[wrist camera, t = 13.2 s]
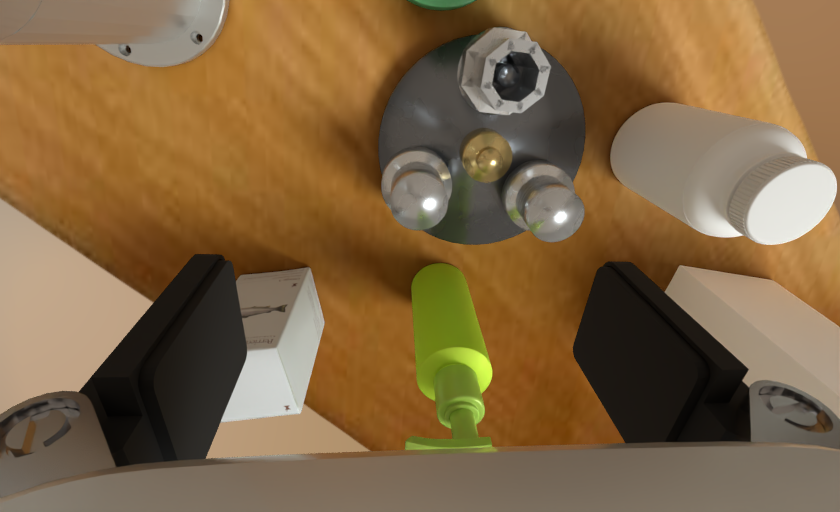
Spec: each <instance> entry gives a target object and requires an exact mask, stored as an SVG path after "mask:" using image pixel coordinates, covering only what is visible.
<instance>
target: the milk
mask: <svg viewBox="0 0 840 512" xmlns="http://www.w3.org/2000/svg"><path fill="white" fill-rule="evenodd" d="M665 293H666V294H667V295H668V296H669V297H670V298H671V299H672V300H673V301H675V302H676V303H677V304H678V305H679V306H680V307H681V308H682V309H683V310H684V311H686V312H687V313H688V314H689V315H690V316H691V317H692V318H693V319H694V320H695V321H697V322H698V323H699V324H700V325H701V326H702V327H703V328H704V329H705V330H706V331H707V332H709V333H710V334H711V335H712V336H713V337H714V338H715V339H716V340H717V341H718V342H720V343H721V344H722V345H723V346H724V347H725V348H726V349H727V350H728V351H729V352H731V353H732V354H733V355H734V356H735V357H736V358H737V359H738V360H739V361H740V362H742V363H743V364H744V365H745V366H746V367H747V368H748V369H749V370H748V372H747V374H746V375H745V377H744V379H743V380H742V381H743V382H744V383H745V384H746V385H747V386H748V387H750V385H751V384H752V383H754V382H756V381H760V380H770V381H777V382H780V383H784V384H787V385H790V386H793V387H795V388H797V389H799V390H801V391H804V392H806V393H807V394H809V395H811V396H812V397H814V398H816V399H818V400H819V401H820V402H822V403H823V404H824V405H825V406H827V407H828V408H829V409H831V411H832V412H833V413H834V414H835V415H836V416H837V417H838V418H839V419H840V327H839V326H837V325H836V324H834V323H833V322H832V321H830V320H829V319H827V318H826V317H824V316H823V315H822V314H820V313H819V312H817V311H816V310H815V309H813V308H812V307H810V306H809V305H807V304H806V303H805V302H803V301H802V300H800V299H799V298H797V297H796V296H795V295H793V294H792V293H790V292H789V291H787V290H786V289H785V288H783V287H782V286H780V285H779V284H778V283H776V282H775V281H773V280H769V279H762V278H756V277H750V276H744V275H738V274H732V273H726V272H719V271H713V270H707V269H701V268H695V267H689V266H682V265H679V267H678V269H677V271H676V273H675V274H674V276H673V278H672V280H671V282H670V283H669V285H668V287H667V289H666V291H665Z"/></svg>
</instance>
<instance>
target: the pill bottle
mask: <svg viewBox="0 0 840 512" xmlns="http://www.w3.org/2000/svg"><path fill="white" fill-rule="evenodd" d="M610 161H611V167H612V170H613V172H614V174H615V176H616V178H617V179H618V180H619V181H620V182H621V183H622V184H623V185H624V186H626V187H627V188H629V189H630V190H632V191H634V192H635V193H637V194H638V195H640V196H642V197H643V198H645V199H647V200H648V201H650V202H651V203H653V204H655V205H656V206H658V207H660V208H661V209H663V210H664V211H666V212H668V213H669V214H671V215H672V216H674V217H676V218H677V219H679V220H681V221H682V222H684V223H685V224H687V225H689V226H690V227H692V228H694V229H695V230H697V231H699V232H701V233H703V234H706V235H710V236H716V237H737V236H742V235H744V236H746V237H747V238H749V239H751V240H753V241H755V242H757V243H760V244H765V245H767V244H768V245H774V244H781V243H786V242H789V241H792V240H794V239H796V238H798V237H800V236H802V235H804V234H805V233H807V232H808V231H810V230H811V229H812V228H813V227H815V226H816V225H817V224H818V223H819V222H820V221H821V220H822V219H823V218H824V216H825V215H826V214H827V212H828V211H829V209H830V208H831V206H832V204H833V202H834V199H835V196H836V191H837V182H836V178H835V176H834V174H833V172H832V171H831V169H829V167H827V166H826V165H824V164H822V163H820V162H817V161H813V160H810V159H807V155H806V152H805V149H804V147H803V145H802V143H801V142H800V140H799V139H798V138H797V137H796V136H795V135H794V134H792V133H791V132H790V131H788V130H787V129H785V128H783V127H781V126H778V125H775V124H771V123H767V122H762V121H758V120H753V119H748V118H744V117H739V116H734V115H730V114H725V113H720V112H716V111H711V110H707V109H702V108H697V107H693V106H688V105H683V104H679V103H657V104H653V105H650V106H647V107H645V108H643V109H641V110H639V111H638V112H636V113H635V114H633V115H632V116H631V117H630V118H629V119H628V120H627V121H626V122H625V123H624V124H623V125H622V127H621V128H620V129H619V131H618V133H617V134H616V136H615V138H614V141H613V144H612V147H611V153H610Z"/></svg>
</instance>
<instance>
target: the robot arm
mask: <svg viewBox="0 0 840 512" xmlns="http://www.w3.org/2000/svg"><path fill="white" fill-rule="evenodd" d="M229 1H230V0H0V45H62V44H95V45H97V46H98V47H100V48H102V49H103V50H105V51H107V52H108V53H110V54H111V55H114V56H116V57H118V58H121V59H123V60H125V61H128V62H131V63H135V64H139V65H143V66H152V67H167V66H176V65H179V64H183V63H186V62H190V61H191V60H193V59H195V58H197V57H199V56H200V55H202V54H203V53H204V52H205V51H206V50H207V49H208V48H210V47H211V46H212V45H213V43H214V42H215V40H216V39H217V37H218V36H219V34H220V33H221V31H222V28H223V26H224V23H225V20H226V18H227V13H228V7H229ZM200 34H201V35H202V37H203V41H202V42H201V41H200V40H199V35H200ZM129 47H130V48H131V52H130V51H129ZM573 354H574V357H575V359H576V361H577V363H578V364H579V366H580V368H581V369H582V371H583V373H584V374H585V376H586V378H587V379H588V381H589V383H590V384H591V386H592V388H593V389H594V391H595V393H596V394H597V396H598V398H599V399H600V401H601V403H602V404H603V406H604V408H605V409H606V411H607V413H608V414H609V416H610V418H611V419H612V421H613V423H614V424H615V426H616V428H617V429H618V431H619V433H620V434H621V436H622V438H623V439H624V441H625V443H618V444H581V445H545V446H514V447H482V448H452V449H422V450H394V451H368V452H342V453H318V454H317V453H316V454H290V455H269V456H268V455H267V456H251V457H250V456H248V457H231V458H230V457H229V458H211V459H205V458H206V456H207V453H208V451H209V449H210V446H211V444H212V441H213V439H214V436H215V434H216V432H217V429H218V427H219V424H220V422H221V420H222V417H223V415H224V412H225V410H226V407H227V405H228V403H229V400H230V398H231V395H232V393H233V390H234V388H235V386H236V383H237V381H238V378H239V376H240V373H241V371H242V369H243V366H244V364H245V361H246V357H247V344H246V338H245V332H244V326H243V321H242V315H241V309H240V303H239V298H238V292H237V286H236V280H235V275H234V269H233V264H232V262H231V261H225V259H224V257H223V256H222V255H217V254H195V255H194V256H193V257H192V258H191V259H190V260H189V262H188V263H187V264H186V265H185V266H184V267H183V269H182V270H181V271H180V272H179V273H178V275H177V276H176V277H175V278H174V279H173V281H172V282H171V283H170V284H169V285H168V286H167V288H166V289H165V290H164V291H163V292H162V294H161V295H160V296H159V297H158V298H157V299H156V301H155V302H154V303H153V304H152V305H151V307H150V308H149V309H148V310H147V311H146V313H145V314H144V315H143V316H142V317H141V318H140V320H139V321H138V322H137V323H136V324H135V326H134V327H133V328H132V329H131V330H130V332H129V333H128V334H127V335H126V336H125V337H124V339H123V340H122V341H121V342H120V343H119V345H118V346H117V347H116V348H115V349H114V351H113V352H112V353H111V354H110V355H109V357H108V358H107V359H106V360H105V361H104V362H103V364H102V365H101V366H100V367H99V368H98V370H97V371H96V372H95V373H94V374H93V375H92V377H91V378H90V379H89V380H88V382H87V383H86V384H85V385H84V387H82V389H81V390H80V391H79V392H75V391H59V392H53V393H46V394H44V395H41V396H37V397H34V398H31V399H28V400H26V401H24V402H22V403H20V404H17V405H15V406H13V407H11V408H10V409H8V410H7V411H5V412H4V413H2V414H0V512H840V419H839V418H838V417H837V416H836V415H835V414H834V413H833V412H832V411H831V409H829V408H828V407H827V406H825V405H824V404H823V403H822V402H820V401H819V400H818V399H816V398H814V397H812V396H811V395H809V394H807V393H806V392H804V391H801V390H799V389H797V388H795V387H793V386H790V385H787V384H784V383H780V382H777V381H770V380H760V381H756V382H754V383H752V384H751V385H750V387H748V386H747V385H746V384H745V383H744V382H743V381H742V380H743V379H744V377H745V375H746V374H747V372H748V370H749V369H748V368H747V367H746V366H745V365H744V364H743V363H742V362H740V361H739V360H738V359H737V358H736V357H735V356H734V355H733V354H732V353H731V352H729V351H728V350H727V349H726V348H725V347H724V346H723V345H722V344H721V343H720V342H718V341H717V340H716V339H715V338H714V337H713V336H712V335H711V334H710V333H709V332H707V331H706V330H705V329H704V328H703V327H702V326H701V325H700V324H699V323H698V322H697V321H695V320H694V319H693V318H692V317H691V316H690V315H689V314H688V313H687V312H686V311H684V310H683V309H682V308H681V307H680V306H679V305H678V304H677V303H676V302H675V301H673V300H672V299H671V298H670V297H669V296H668V295H667V294H666V293H665V292H664V291H662V290H661V289H660V288H659V287H658V286H657V285H656V284H655V283H654V282H653V281H651V280H650V279H649V278H648V277H647V276H646V275H645V274H644V273H643V272H642V271H640V270H639V269H638V268H637V267H636V266H635V265H634V264H633V263H631V262H607V263H605V264H604V266H603V267H600V268H599V269H598V270H597V272H596V275H595V279H594V282H593V285H592V288H591V291H590V294H589V297H588V301H587V304H586V307H585V310H584V313H583V316H582V319H581V323H580V326H579V329H578V332H577V335H576V338H575V342H574V345H573Z"/></svg>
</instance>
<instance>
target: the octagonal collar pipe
mask: <svg viewBox="0 0 840 512" xmlns="http://www.w3.org/2000/svg"><path fill="white" fill-rule="evenodd" d="M507 54H509V55H510V57H511V58H512V60H513V61H514V63H515V65H516V67H517V68H518V69H519V72H520V78H519V81H518V83H517V84H516V85H515V86H513V87H510V88H505V89H504V90H503V91H501V92H500V93H497V92H496V90H495V89H494V87H493V86H492V81H493V76H494V70H495V65H496V63H498V62H499V61H500V60H501V59H502V58H504V57H505V56H506V55H507ZM550 68H551V66H550V64H549V62H548V60H547V59H546V57H545V55H544V53H543V52H542V50H541V48H540V46H539V45H538V43H537V42H533V41H531V39H530V37H529V36H528V34H527V32H523V31H516V30H509V29H502V28H495V27H493V28H488V29H487V30H486V31H485V32H483V33H482V34H481V35H480V36H479V37H478V38H476V39H475V40H474V41H473V42H472V43H471V44H469V45H468V46H467V47H466V48H465V49H464V50H463V52H462V59H461V66H460V72H459V79H458V84H459V86H460V87H461V89H462V90H463V92H464V93H465V95H466V96H467V98H468V99H469V101H470V102H471V103H472V105H473V106H474V108H475V109H476V110H478V111H479V112H485V113H494V114H502V115H510V114H511V113H513V112H514V113H522V112H524V111H525V110H526V109H527V108H529V107H530V106H531V105H533V104H534V103H535V102H537V101H538V100H539V99H540V98H542V97H543V96H544V93H545V89H546V85H547V81H548V77H549V73H550Z"/></svg>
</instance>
